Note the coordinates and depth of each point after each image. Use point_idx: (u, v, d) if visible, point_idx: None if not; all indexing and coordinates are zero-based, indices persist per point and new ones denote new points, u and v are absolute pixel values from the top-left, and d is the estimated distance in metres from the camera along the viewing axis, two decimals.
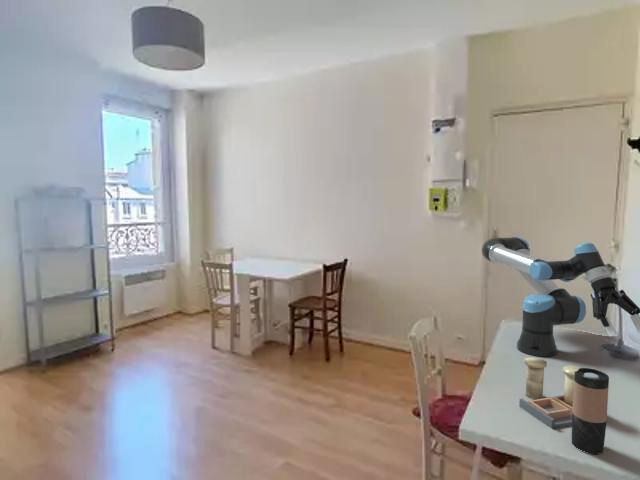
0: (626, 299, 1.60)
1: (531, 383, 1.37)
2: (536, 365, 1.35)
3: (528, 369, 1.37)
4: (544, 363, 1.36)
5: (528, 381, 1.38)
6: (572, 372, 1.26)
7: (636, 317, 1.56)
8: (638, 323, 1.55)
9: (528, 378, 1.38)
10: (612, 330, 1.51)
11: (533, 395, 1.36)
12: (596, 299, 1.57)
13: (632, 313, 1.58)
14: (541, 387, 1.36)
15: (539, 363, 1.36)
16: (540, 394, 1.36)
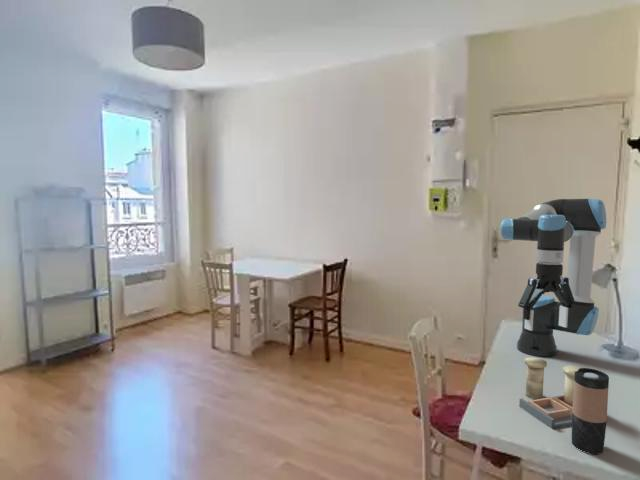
0: (566, 289, 1.36)
1: (531, 383, 1.37)
2: (536, 365, 1.35)
3: (528, 369, 1.37)
4: (544, 363, 1.35)
5: (528, 381, 1.38)
6: (572, 372, 1.26)
7: (565, 311, 1.36)
8: (563, 317, 1.37)
9: (528, 378, 1.38)
10: (530, 325, 1.33)
11: (533, 395, 1.36)
12: (531, 288, 1.32)
13: (564, 304, 1.38)
14: (541, 387, 1.36)
15: (539, 363, 1.36)
16: (540, 394, 1.36)
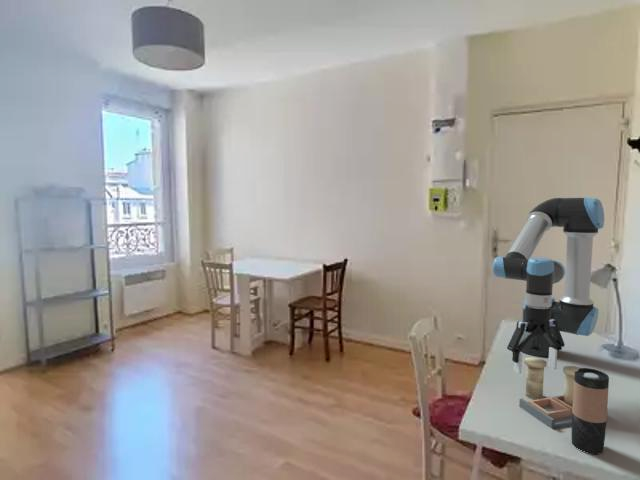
0: (555, 331, 1.37)
1: (531, 383, 1.37)
2: (536, 365, 1.35)
3: (528, 369, 1.37)
4: (544, 363, 1.36)
5: (528, 381, 1.38)
6: (572, 372, 1.26)
7: (554, 353, 1.38)
8: (552, 359, 1.38)
9: (528, 378, 1.38)
10: (518, 368, 1.35)
11: (533, 395, 1.36)
12: (519, 332, 1.34)
13: (553, 345, 1.39)
14: (541, 387, 1.36)
15: (539, 363, 1.36)
16: (540, 394, 1.36)
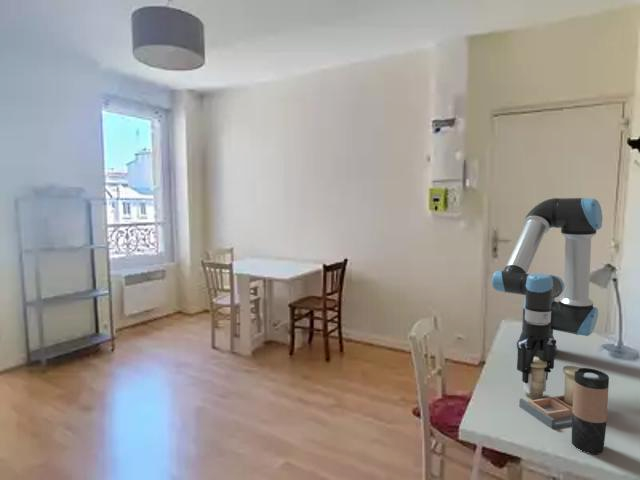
0: (550, 350, 1.38)
1: None
2: (536, 365, 1.35)
3: None
4: (544, 363, 1.35)
5: None
6: (572, 372, 1.26)
7: None
8: None
9: None
10: (528, 388, 1.37)
11: (533, 395, 1.36)
12: (522, 352, 1.35)
13: None
14: (541, 387, 1.36)
15: (539, 363, 1.36)
16: (541, 394, 1.36)
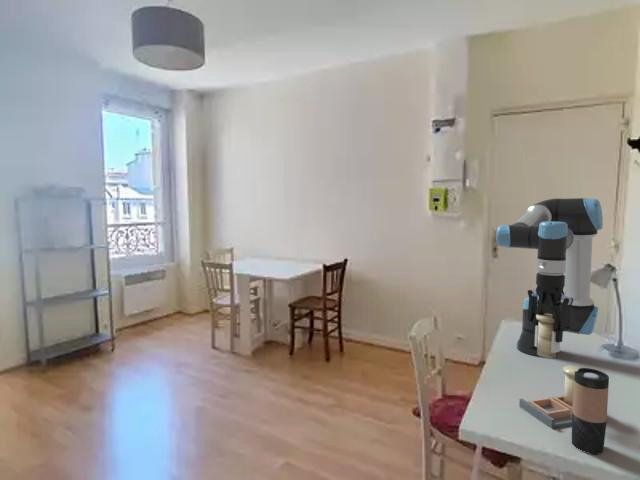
0: None
1: None
2: (537, 316, 1.27)
3: None
4: (546, 318, 1.24)
5: None
6: (572, 372, 1.26)
7: None
8: None
9: None
10: None
11: (537, 349, 1.28)
12: None
13: None
14: (542, 343, 1.26)
15: (543, 316, 1.26)
16: (541, 350, 1.26)
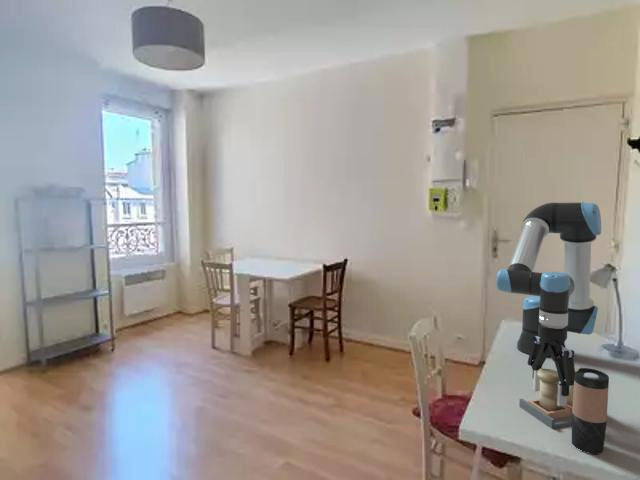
0: None
1: None
2: (537, 373, 1.26)
3: None
4: (546, 376, 1.23)
5: None
6: None
7: None
8: None
9: None
10: None
11: (539, 404, 1.28)
12: None
13: None
14: (543, 400, 1.25)
15: (543, 374, 1.25)
16: (542, 407, 1.26)
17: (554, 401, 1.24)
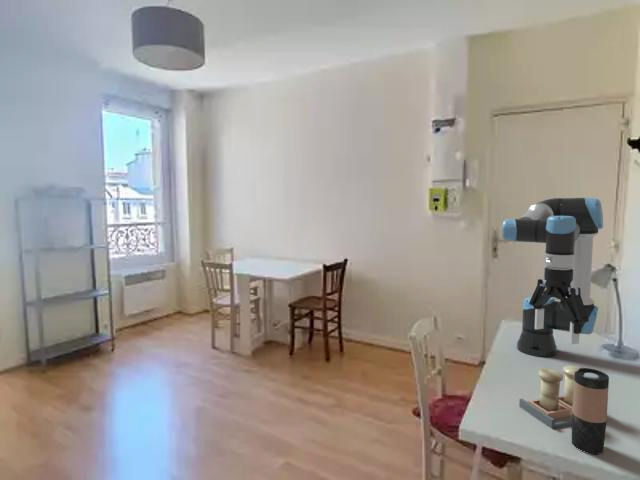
0: None
1: None
2: (539, 372, 1.27)
3: None
4: (547, 376, 1.24)
5: None
6: (572, 372, 1.26)
7: None
8: None
9: None
10: None
11: (539, 405, 1.28)
12: None
13: None
14: (543, 400, 1.25)
15: (544, 374, 1.25)
16: (542, 407, 1.26)
17: (555, 401, 1.24)
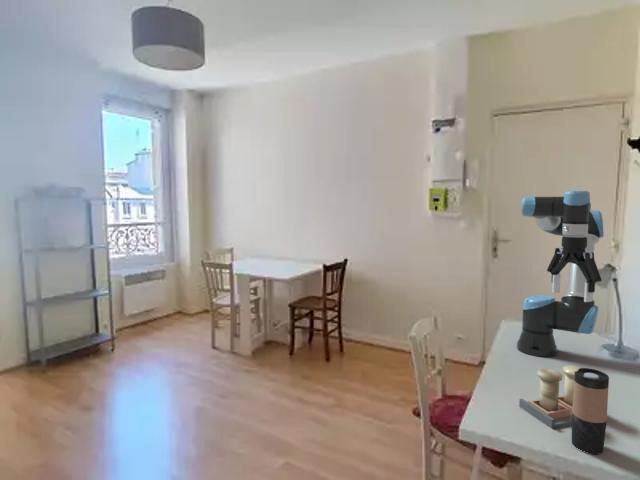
0: None
1: None
2: (538, 373, 1.27)
3: None
4: (547, 376, 1.24)
5: None
6: (572, 372, 1.26)
7: None
8: None
9: None
10: None
11: (539, 405, 1.28)
12: None
13: None
14: (543, 400, 1.25)
15: (544, 374, 1.25)
16: (542, 407, 1.26)
17: (555, 401, 1.24)
